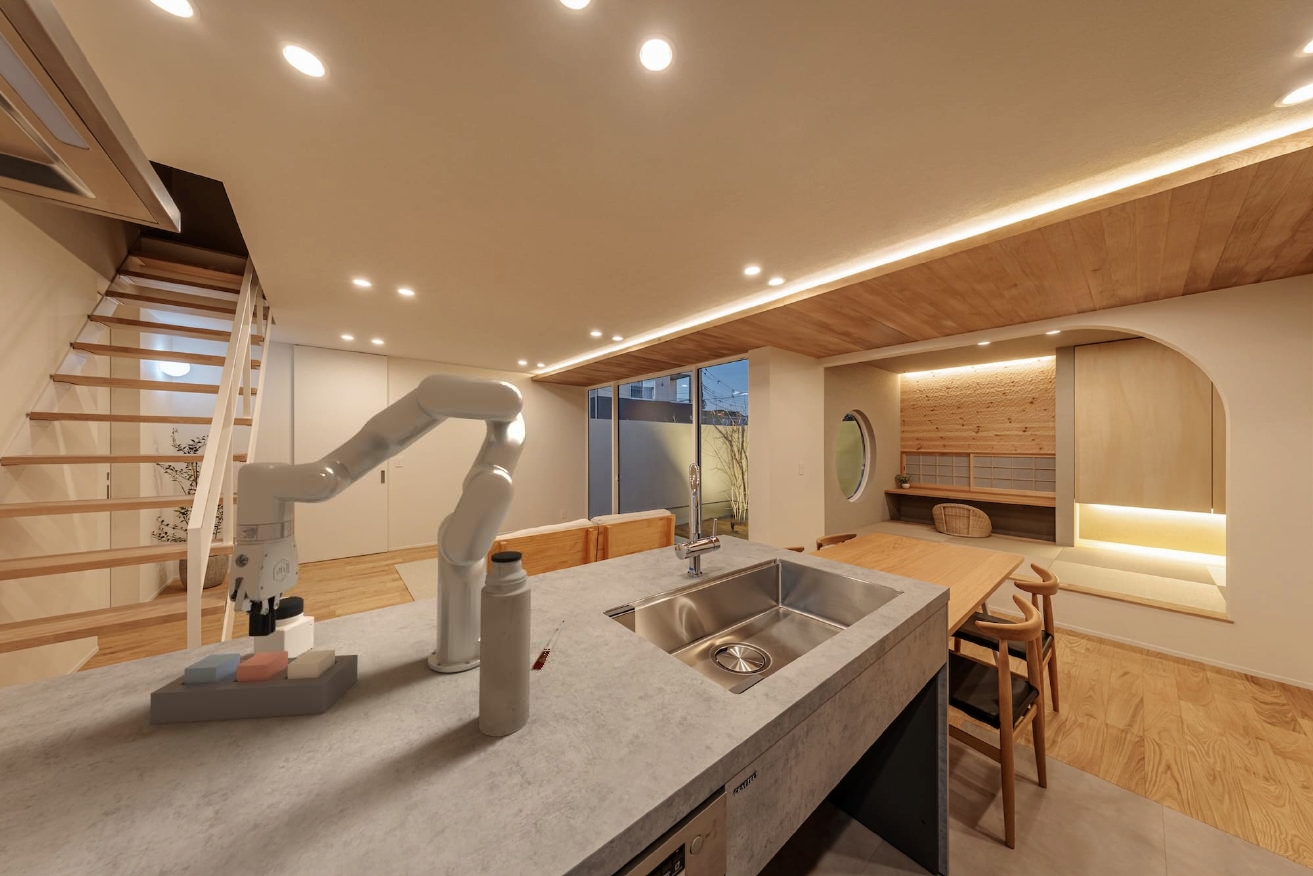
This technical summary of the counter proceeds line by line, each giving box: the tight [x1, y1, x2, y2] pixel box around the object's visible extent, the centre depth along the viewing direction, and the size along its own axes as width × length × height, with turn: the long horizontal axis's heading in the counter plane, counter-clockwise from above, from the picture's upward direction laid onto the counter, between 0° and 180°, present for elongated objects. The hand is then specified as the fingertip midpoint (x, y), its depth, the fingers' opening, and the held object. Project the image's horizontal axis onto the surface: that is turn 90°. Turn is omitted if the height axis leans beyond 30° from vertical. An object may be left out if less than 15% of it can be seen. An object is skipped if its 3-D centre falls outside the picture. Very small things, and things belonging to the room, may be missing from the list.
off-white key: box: [288, 649, 336, 679], centre depth 77 cm, size 5×5×4 cm
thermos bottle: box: [478, 550, 532, 737], centre depth 71 cm, size 8×8×28 cm
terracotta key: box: [237, 651, 288, 682], centre depth 76 cm, size 5×5×4 cm
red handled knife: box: [532, 648, 551, 670], centre depth 99 cm, size 2×24×1 cm, turn 179°
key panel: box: [149, 654, 359, 725], centre depth 76 cm, size 26×10×5 cm, turn 97°
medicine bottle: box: [253, 595, 315, 658], centre depth 92 cm, size 7×7×12 cm
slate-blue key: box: [184, 652, 241, 685], centre depth 75 cm, size 5×5×4 cm
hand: (262, 634), depth 76 cm, fingers closed
